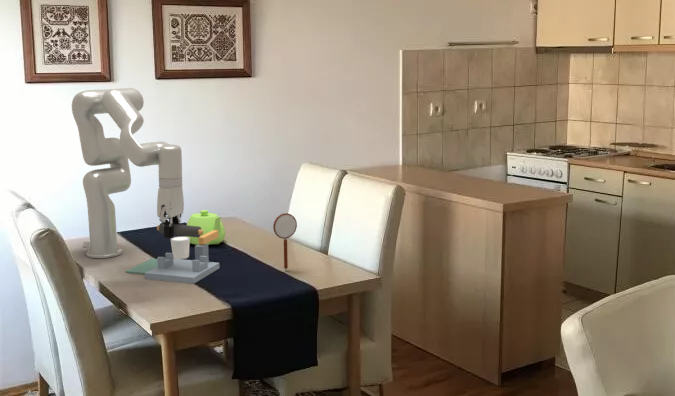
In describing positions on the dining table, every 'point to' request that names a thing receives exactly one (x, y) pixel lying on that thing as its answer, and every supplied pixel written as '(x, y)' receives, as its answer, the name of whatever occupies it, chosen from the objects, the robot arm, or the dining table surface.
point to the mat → (143, 267)
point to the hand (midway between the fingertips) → (172, 235)
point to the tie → (208, 237)
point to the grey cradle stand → (183, 267)
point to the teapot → (207, 226)
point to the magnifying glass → (285, 231)
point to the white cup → (180, 247)
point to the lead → (183, 230)
